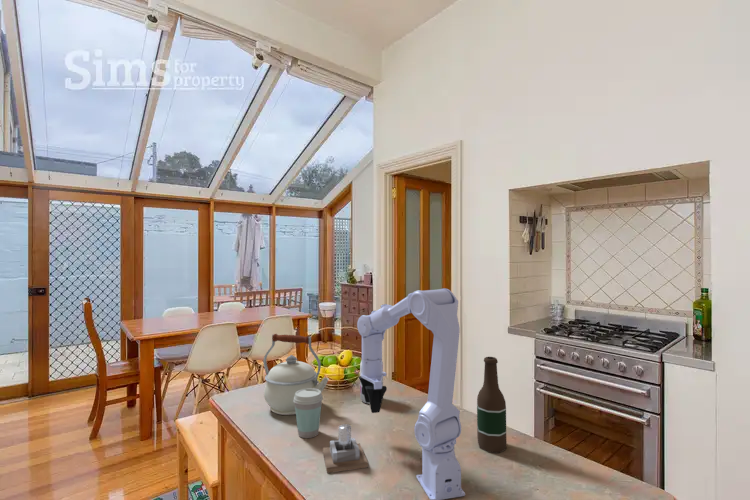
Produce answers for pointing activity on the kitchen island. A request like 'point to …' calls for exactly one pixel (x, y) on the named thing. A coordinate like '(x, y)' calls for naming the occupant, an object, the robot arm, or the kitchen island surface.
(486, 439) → the beer bottle
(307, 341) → the kettle
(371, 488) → the kitchen island surface
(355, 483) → the kitchen island surface
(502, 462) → the kitchen island surface
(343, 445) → the shaft
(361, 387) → the supplement can
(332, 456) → the block
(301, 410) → the coffee cup
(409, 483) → the kitchen island surface
